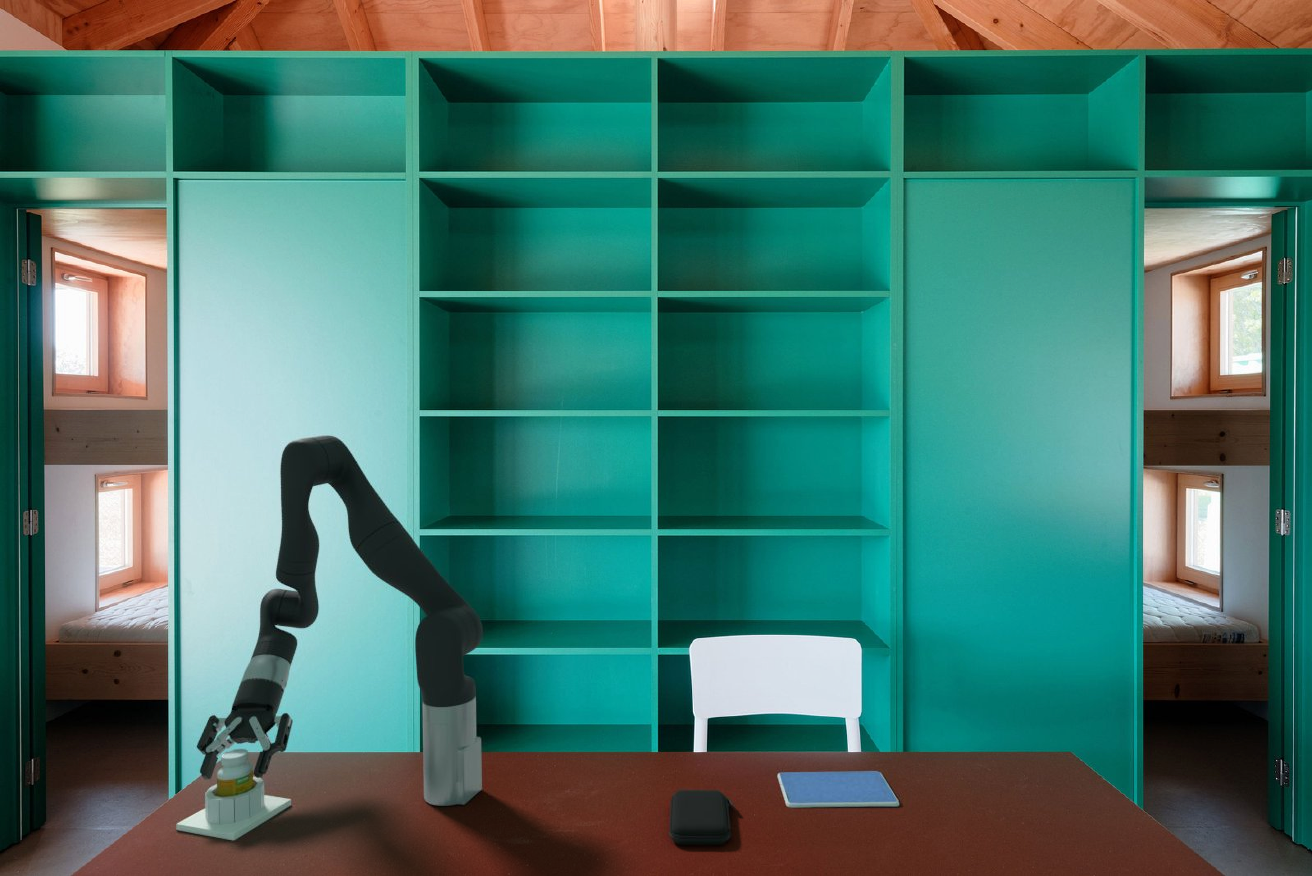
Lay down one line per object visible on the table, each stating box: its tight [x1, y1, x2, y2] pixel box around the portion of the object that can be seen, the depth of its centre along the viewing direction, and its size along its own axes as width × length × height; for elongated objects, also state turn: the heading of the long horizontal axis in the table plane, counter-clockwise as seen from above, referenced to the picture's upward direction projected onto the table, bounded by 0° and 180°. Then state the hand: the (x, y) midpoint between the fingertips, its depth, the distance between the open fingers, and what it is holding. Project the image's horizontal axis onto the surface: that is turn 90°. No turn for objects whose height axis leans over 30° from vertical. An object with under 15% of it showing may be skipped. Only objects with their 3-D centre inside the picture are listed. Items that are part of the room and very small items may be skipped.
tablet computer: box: [777, 770, 900, 809], centre depth 134 cm, size 19×13×1 cm, turn 89°
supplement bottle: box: [216, 748, 254, 797], centre depth 128 cm, size 5×5×10 cm
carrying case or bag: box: [669, 789, 735, 846], centre depth 123 cm, size 11×3×15 cm
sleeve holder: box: [175, 775, 292, 842], centre depth 127 cm, size 12×12×5 cm
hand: (231, 777), depth 126 cm, fingers open, 8 cm apart
